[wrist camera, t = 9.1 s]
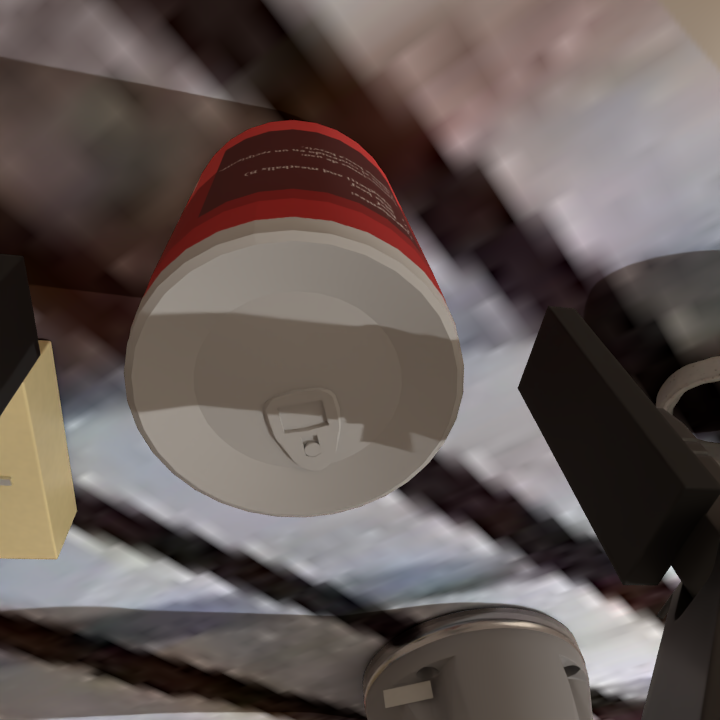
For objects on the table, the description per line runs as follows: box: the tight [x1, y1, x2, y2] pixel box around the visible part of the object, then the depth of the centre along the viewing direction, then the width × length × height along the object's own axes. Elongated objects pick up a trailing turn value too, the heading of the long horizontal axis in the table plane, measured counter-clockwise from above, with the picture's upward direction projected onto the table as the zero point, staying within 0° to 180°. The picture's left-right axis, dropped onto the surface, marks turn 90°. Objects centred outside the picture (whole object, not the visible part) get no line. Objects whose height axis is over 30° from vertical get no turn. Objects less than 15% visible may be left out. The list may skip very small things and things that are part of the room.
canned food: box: [124, 120, 464, 517], centre depth 18 cm, size 8×8×11 cm
